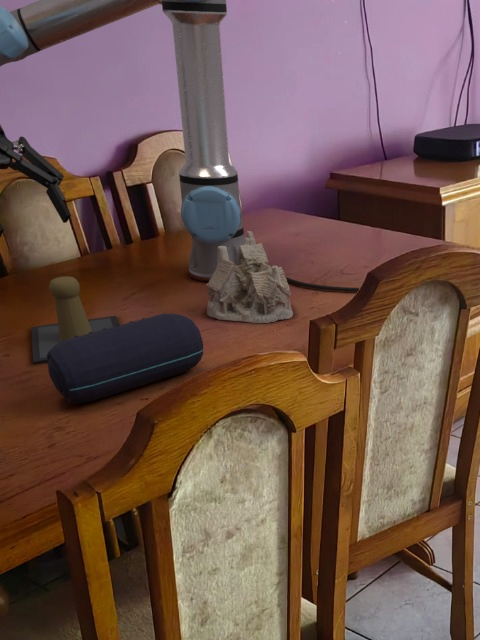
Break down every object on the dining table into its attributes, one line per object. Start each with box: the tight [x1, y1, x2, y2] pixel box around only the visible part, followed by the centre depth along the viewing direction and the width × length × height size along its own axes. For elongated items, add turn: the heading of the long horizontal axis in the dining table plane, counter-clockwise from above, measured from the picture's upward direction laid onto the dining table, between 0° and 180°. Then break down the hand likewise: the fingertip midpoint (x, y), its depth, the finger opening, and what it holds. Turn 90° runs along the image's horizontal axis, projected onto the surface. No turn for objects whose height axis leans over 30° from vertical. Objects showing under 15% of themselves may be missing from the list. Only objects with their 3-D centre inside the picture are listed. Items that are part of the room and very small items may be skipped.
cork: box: [48, 275, 92, 341], centre depth 155 cm, size 6×6×11 cm
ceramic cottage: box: [206, 230, 294, 324], centre depth 165 cm, size 16×16×15 cm
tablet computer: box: [30, 315, 120, 365], centre depth 158 cm, size 16×20×1 cm
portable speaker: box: [47, 313, 204, 405], centre depth 136 cm, size 25×10×10 cm, turn 133°
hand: (34, 226), depth 157 cm, fingers open, 13 cm apart
